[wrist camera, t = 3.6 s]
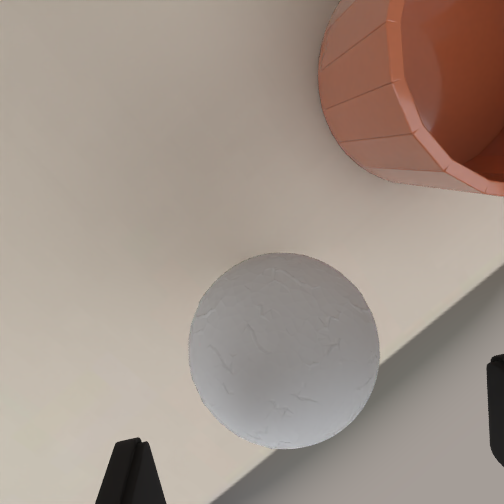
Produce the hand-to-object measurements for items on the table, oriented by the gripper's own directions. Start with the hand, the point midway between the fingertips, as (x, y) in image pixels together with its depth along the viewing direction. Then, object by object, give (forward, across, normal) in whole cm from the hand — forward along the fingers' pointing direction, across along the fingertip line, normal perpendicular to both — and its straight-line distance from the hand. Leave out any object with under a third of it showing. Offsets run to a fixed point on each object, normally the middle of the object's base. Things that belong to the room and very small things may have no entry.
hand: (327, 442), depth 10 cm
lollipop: (+17, 0, 0) cm, 17 cm away
